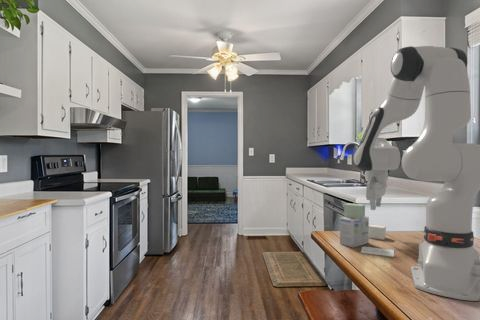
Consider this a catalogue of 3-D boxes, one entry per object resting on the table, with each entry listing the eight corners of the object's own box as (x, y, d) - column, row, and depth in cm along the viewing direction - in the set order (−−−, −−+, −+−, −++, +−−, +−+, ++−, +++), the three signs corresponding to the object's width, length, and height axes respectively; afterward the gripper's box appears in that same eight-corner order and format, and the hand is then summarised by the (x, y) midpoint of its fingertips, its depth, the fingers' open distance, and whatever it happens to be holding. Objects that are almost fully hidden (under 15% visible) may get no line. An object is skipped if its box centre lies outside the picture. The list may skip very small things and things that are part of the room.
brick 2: (383, 239, 132) (383, 228, 132) (366, 237, 136) (366, 225, 136) (385, 237, 135) (385, 226, 135) (368, 235, 139) (368, 224, 139)
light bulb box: (354, 239, 132) (354, 214, 132) (369, 243, 127) (369, 216, 127) (339, 244, 126) (339, 217, 126) (354, 248, 121) (354, 220, 120)
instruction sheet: (394, 257, 110) (394, 256, 110) (360, 252, 115) (360, 252, 115) (394, 250, 117) (394, 249, 117) (362, 246, 122) (362, 246, 122)
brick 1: (361, 218, 123) (362, 206, 122) (344, 216, 127) (344, 204, 127) (364, 217, 126) (365, 204, 126) (347, 215, 130) (347, 203, 130)
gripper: (378, 178, 125) (378, 213, 126) (388, 174, 142) (388, 205, 142) (362, 177, 129) (361, 211, 129) (373, 174, 145) (373, 203, 146)
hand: (375, 208), depth 136 cm, fingers open, 8 cm apart
